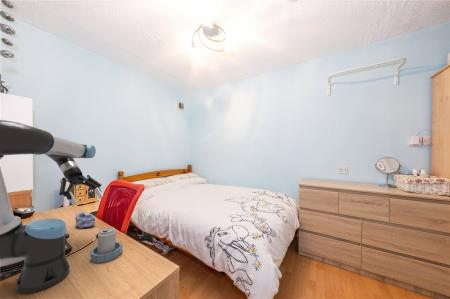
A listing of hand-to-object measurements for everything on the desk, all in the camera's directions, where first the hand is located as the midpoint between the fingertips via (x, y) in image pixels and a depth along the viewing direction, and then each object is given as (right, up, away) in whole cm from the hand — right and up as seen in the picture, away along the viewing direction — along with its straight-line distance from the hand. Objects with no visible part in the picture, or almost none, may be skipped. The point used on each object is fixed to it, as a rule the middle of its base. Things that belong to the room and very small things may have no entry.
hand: (89, 200), depth 94 cm
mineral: (-23, -26, +25) cm, 43 cm away
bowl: (+14, -26, -6) cm, 30 cm away
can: (+14, -25, -6) cm, 29 cm away
